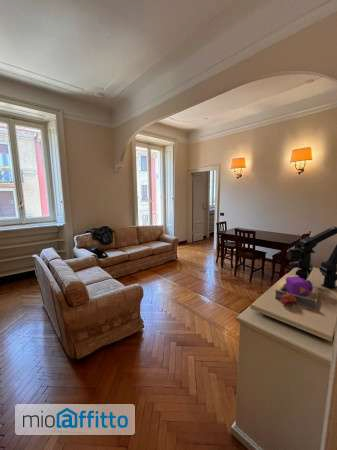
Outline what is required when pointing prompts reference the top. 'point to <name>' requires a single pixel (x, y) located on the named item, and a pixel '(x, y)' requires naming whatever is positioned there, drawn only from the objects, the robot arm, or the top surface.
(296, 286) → the toy camera
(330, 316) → the top surface
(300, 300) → the guide bay
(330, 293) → the top surface
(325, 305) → the top surface
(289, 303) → the pomegranate
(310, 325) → the top surface
